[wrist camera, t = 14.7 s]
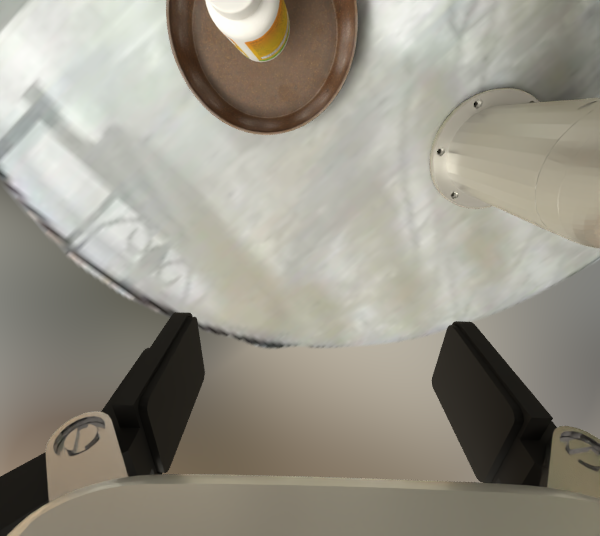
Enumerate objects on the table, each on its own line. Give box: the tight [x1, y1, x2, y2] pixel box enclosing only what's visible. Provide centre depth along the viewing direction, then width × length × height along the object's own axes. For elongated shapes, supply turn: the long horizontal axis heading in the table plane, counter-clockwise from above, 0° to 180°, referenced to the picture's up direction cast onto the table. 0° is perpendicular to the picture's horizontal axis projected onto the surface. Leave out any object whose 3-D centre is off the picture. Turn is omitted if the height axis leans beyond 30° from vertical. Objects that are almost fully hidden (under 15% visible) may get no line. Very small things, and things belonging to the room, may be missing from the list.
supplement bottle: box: [205, 0, 290, 62], centre depth 23 cm, size 5×5×10 cm
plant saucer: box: [166, 0, 358, 135], centre depth 29 cm, size 18×18×3 cm
